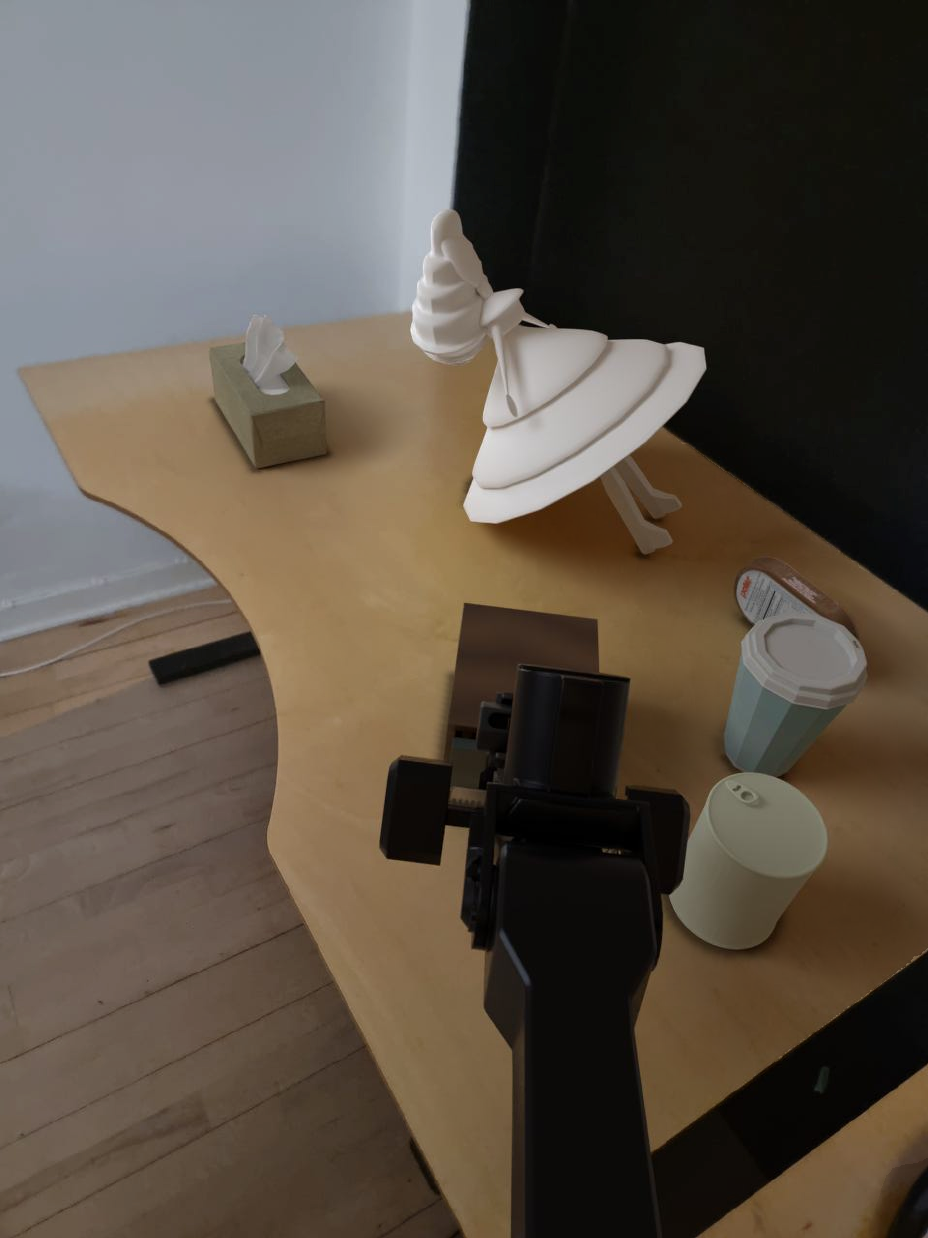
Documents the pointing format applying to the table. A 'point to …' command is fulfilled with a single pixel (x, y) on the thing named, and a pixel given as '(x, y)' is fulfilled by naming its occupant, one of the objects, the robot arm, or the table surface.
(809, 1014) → the table surface
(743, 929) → the can
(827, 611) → the tin
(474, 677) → the cabinet
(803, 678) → the disposable coffee cup
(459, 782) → the drawer
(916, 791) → the table surface
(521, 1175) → the robot arm
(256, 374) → the tissue box
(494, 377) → the figurine
